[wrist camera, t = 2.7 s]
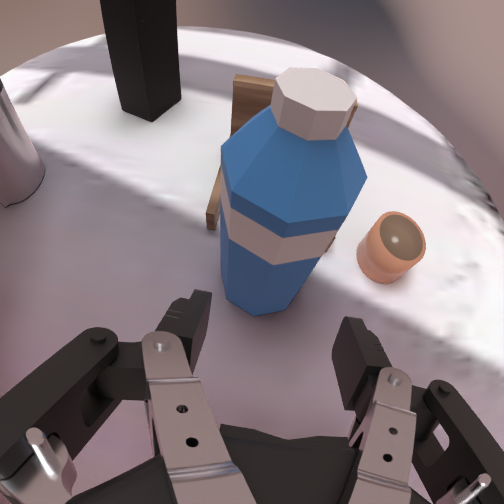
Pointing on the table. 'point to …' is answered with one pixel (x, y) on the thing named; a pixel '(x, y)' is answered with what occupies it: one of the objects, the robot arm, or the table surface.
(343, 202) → the water bottle
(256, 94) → the brown wooden frame
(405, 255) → the clay pot
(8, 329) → the table surface
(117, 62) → the black square pillar
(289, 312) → the table surface
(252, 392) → the table surface
